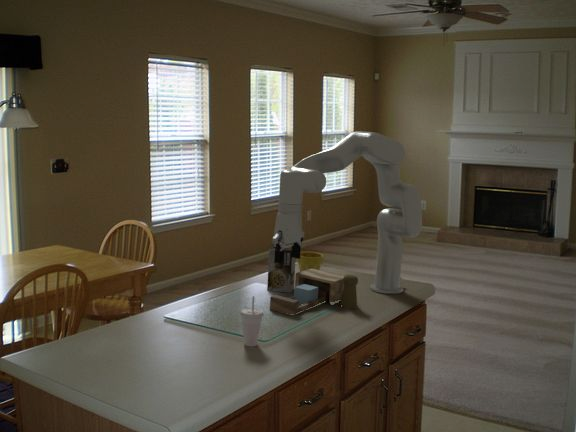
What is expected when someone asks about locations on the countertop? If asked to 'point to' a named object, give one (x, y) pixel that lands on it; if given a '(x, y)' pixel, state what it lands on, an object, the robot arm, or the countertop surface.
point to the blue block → (305, 293)
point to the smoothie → (251, 324)
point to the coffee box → (281, 271)
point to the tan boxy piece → (322, 282)
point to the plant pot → (310, 261)
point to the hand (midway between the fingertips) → (287, 260)
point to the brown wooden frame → (294, 303)
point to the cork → (349, 292)
